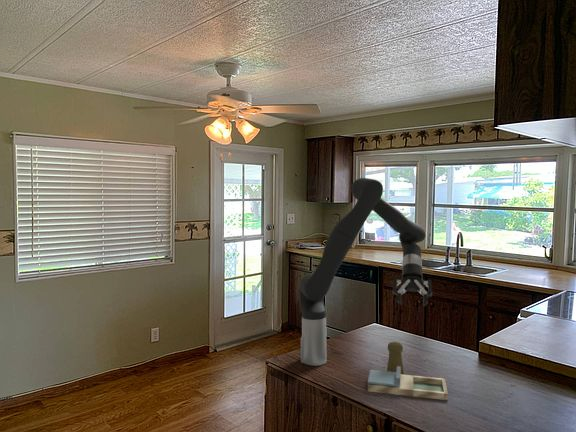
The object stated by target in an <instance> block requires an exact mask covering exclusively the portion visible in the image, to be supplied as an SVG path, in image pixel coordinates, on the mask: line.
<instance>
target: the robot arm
mask: <svg viewBox="0 0 576 432" xmlns="http://www.w3.org/2000/svg"><path fill="white" fill-rule="evenodd" d="M383 186H384V185H383V184H382V182H381V180H378V179H374V178H367V177H360V178H356V179H355V180H354V181H353V183H352V185H351V194H352V196H353V197H354V198H355V200H357V201H356V203H355V205H354V206H353V208H351V210H350V211H349V212H348V213H347V214H346V215H344V216H343V217H342V218H341V219H339V221H338V222H336V224H335V225H334V226H333V228H332V229H331V232H330V233H329V234H328V237H327V239H326V242H325V244H324V248H323V252H322V256H321V260H320V261H319V262H318V265H317V267H316V269H315V270H314V272H313V273H309V272H308V273H307V274H305V275H303V276H302V278H301V279H300V282H299V307H300V312H301V337H300V363H301V364H305V365H308V366H316V367H317V366H323V365H325V364H326V363H327V359H328V357H327V309H326V307H325V306H326V305H325V303H324V298H325V297H326V296H327V294H328V292H329V290H330V288H331V285H332V283H333V280H334V278H335V276H336V275H337V272H338V270H339V268H340V266H341V265H342V263H343V262H344V260H345V257H346V256H347V255H348V253H349V252H350V251H349V250H350V249H351V247H352V246H353V244H354V242H355V240H356V238H357V236H358V235H359V233H360V231H361V229H362V227H363V226H364V224H365V222H366V221H367V219H368V218H369V216H370V215H371V213H372V212H374V213H375V214H376V215H378V217H380V218H381V220H383V221H385V223H386V224H387V225H388V226H389V227H390V228H391V229H392V230H393V231H394V232H395V233H397V234H399V235H398V238H399V239H398V240H399V242H400V245H401V248H402V262H401V263H402V267H401V276H402V277H401V279H398V278H396V277H395V278H393V283H392V294H393V295H394V296H397V304H399V305H400V306H402V296H403V294H405V293H406V292H415V293H416V292H418V293H419V294H420V295H422V299H423V300H422V302H423V305H422V306H423V307H426V306H427V305H428V297H430V298H431V297H433V286H432V279H428V280H424V279H423V262H422V249H421V248H422V247H420V245H418V243H421V242H423V241H424V240H425V239H426V231H425V230H424V228H423V227H422V226H421V225H419V224H418V223H417V222H414V221H412V220H410V219H408V218H407V217H406V216H405V215H404V214H403V212H402V211H400V210H399V209H398V208H396V207H395V206H393V205H392V204H390V203H389V202H387V201H386V200H385V199H383V197H382V195H383V193H384V187H383ZM399 285H401V286H400V288H399V289H398V290H397V288H398V286H399ZM424 285H425V287H426V288H427V290H426V289H425V287H424Z"/></svg>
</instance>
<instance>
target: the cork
mask: <svg viewBox="0 0 576 432" xmlns="http://www.w3.org/2000/svg"><path fill="white" fill-rule="evenodd" d="M403 350H404V347H403V345H402V343H401V342H398V341H390V342H388V344H387V351H388V352H389V353H388V359H387V367H386V371H390V372H397V366H401V374H402V375H405V370H404V364H403V363H404V362H403V361H404V360H403V355H402V352H403Z"/></svg>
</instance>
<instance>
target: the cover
mask: <svg viewBox="0 0 576 432" xmlns="http://www.w3.org/2000/svg"><path fill="white" fill-rule="evenodd" d="M400 378H401V366H397V372H390V371H387V370H379V369H378V370H377V369H370V370H369V375H368V379H367V384H368V383H369V384H379V385H388V386H398V387H400Z"/></svg>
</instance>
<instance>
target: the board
mask: <svg viewBox="0 0 576 432" xmlns="http://www.w3.org/2000/svg"><path fill="white" fill-rule="evenodd" d="M446 383H447V382H446V379H445V378H443V377H432V376H421V375H413V374H412V375H409V374H404V375H402V374H401V378H400V387H398V386H388V385H379V384H369V383H368V382H367V392H369V393H370V392H371V393H379V394H390V395H396V396H397V395H398V396H407V397H416V398H424V399H433V400H434V399H435V400H442V401H448V400H449V399H448V398H449V394H448V393H449V392H448V388H447V384H446Z"/></svg>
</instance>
